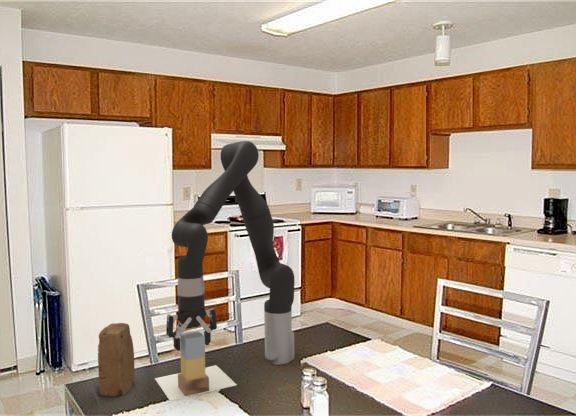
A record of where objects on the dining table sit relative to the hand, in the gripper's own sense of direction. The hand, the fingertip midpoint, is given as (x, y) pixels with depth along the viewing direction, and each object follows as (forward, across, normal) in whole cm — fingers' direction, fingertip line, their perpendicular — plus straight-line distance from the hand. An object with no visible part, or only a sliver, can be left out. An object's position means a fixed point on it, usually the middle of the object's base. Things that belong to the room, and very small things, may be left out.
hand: (192, 347), depth 143 cm
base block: (+12, 0, 0) cm, 12 cm away
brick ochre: (+8, 0, 0) cm, 8 cm away
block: (+14, +19, -12) cm, 26 cm away
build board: (+14, -2, -4) cm, 14 cm away
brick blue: (+2, 0, 0) cm, 2 cm away
